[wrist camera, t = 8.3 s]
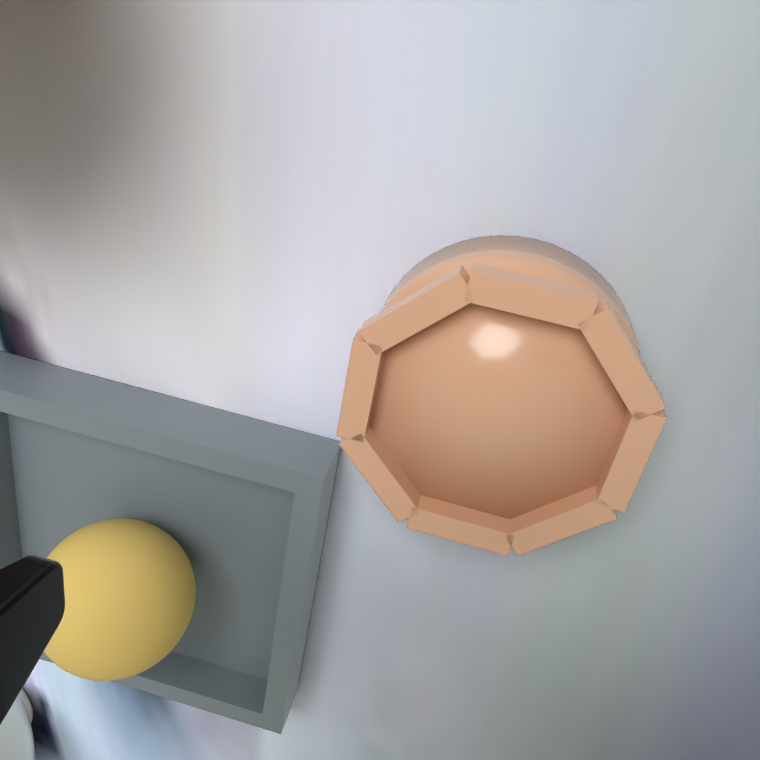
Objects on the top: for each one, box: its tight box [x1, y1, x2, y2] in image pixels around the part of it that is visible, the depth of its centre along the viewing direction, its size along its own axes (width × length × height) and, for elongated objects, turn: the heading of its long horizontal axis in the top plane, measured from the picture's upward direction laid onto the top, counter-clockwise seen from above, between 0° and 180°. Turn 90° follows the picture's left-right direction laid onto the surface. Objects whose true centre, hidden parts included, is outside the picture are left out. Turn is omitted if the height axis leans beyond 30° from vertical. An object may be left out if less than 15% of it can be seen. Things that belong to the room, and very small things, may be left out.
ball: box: [44, 518, 196, 681], centre depth 23 cm, size 5×5×5 cm
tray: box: [0, 351, 341, 734], centre depth 24 cm, size 12×12×2 cm
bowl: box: [336, 235, 666, 556], centre depth 18 cm, size 7×7×4 cm
